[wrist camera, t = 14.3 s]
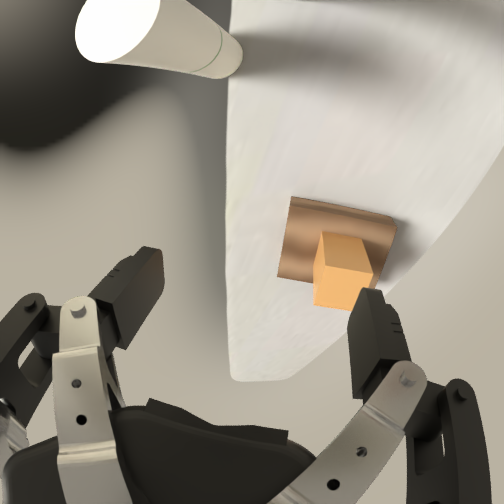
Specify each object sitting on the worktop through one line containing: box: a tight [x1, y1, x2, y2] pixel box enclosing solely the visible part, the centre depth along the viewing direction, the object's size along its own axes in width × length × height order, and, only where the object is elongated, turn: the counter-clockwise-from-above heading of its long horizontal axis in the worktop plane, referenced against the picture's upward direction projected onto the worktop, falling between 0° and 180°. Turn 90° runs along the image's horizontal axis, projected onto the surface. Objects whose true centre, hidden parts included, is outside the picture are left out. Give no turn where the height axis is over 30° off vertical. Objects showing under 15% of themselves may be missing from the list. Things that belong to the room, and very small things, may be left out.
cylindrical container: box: [75, 0, 243, 79], centre depth 22 cm, size 7×7×25 cm
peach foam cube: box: [313, 231, 373, 311], centre depth 38 cm, size 9×6×9 cm, turn 174°
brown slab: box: [277, 196, 397, 289], centre depth 40 cm, size 12×16×10 cm
